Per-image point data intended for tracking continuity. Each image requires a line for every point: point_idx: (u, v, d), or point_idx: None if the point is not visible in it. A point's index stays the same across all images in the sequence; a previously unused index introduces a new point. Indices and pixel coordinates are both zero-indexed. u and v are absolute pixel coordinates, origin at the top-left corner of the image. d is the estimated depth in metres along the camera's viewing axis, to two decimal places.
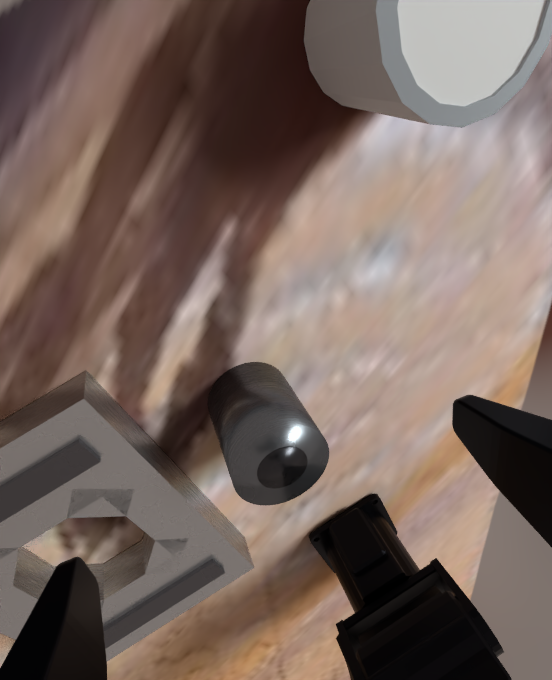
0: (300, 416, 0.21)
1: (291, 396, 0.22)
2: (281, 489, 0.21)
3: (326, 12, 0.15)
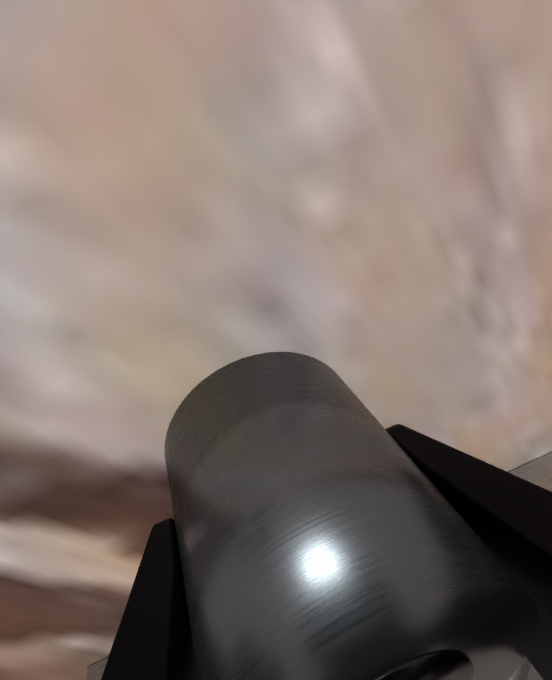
0: (247, 622, 0.05)
1: (227, 493, 0.07)
2: None
3: None
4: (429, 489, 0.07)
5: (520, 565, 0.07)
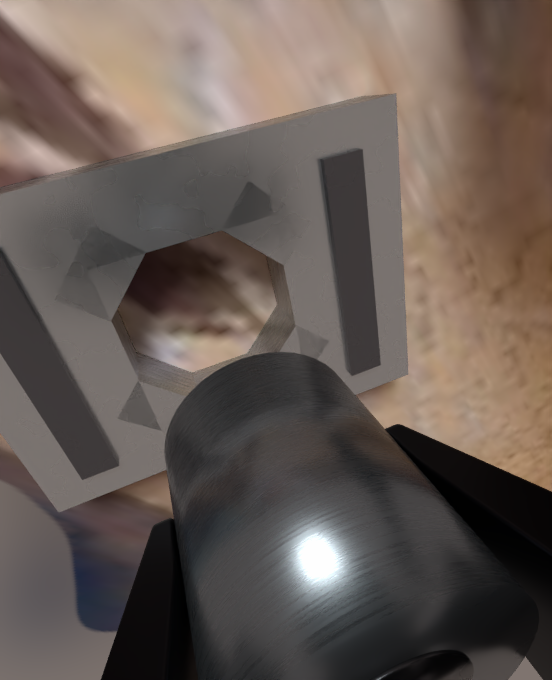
0: (246, 623, 0.05)
1: (227, 493, 0.07)
2: None
3: None
4: (429, 489, 0.07)
5: (520, 565, 0.07)
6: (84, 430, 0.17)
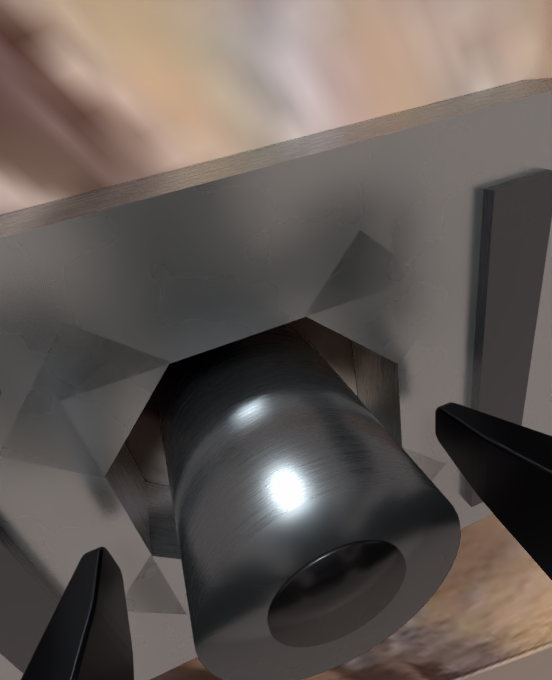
0: (219, 514, 0.07)
1: (208, 428, 0.08)
2: (406, 583, 0.08)
3: None
4: (375, 424, 0.08)
5: None
6: None
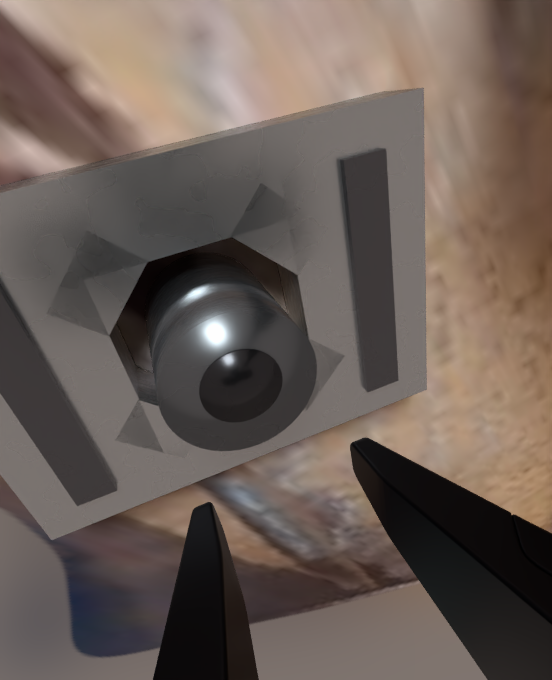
0: (171, 332, 0.12)
1: (171, 301, 0.14)
2: (285, 389, 0.14)
3: None
4: (270, 299, 0.14)
5: (475, 588, 0.07)
6: (79, 453, 0.16)
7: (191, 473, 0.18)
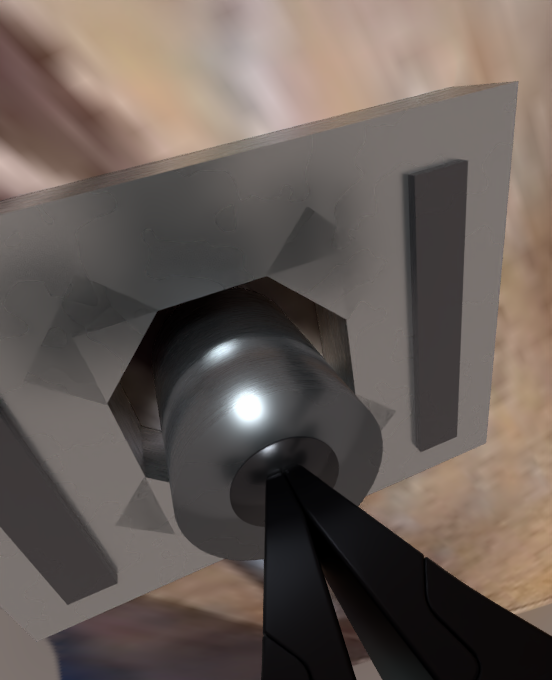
0: (192, 415, 0.09)
1: (188, 362, 0.11)
2: (341, 480, 0.10)
3: None
4: (319, 359, 0.11)
5: (383, 636, 0.06)
6: (69, 546, 0.12)
7: (208, 554, 0.15)
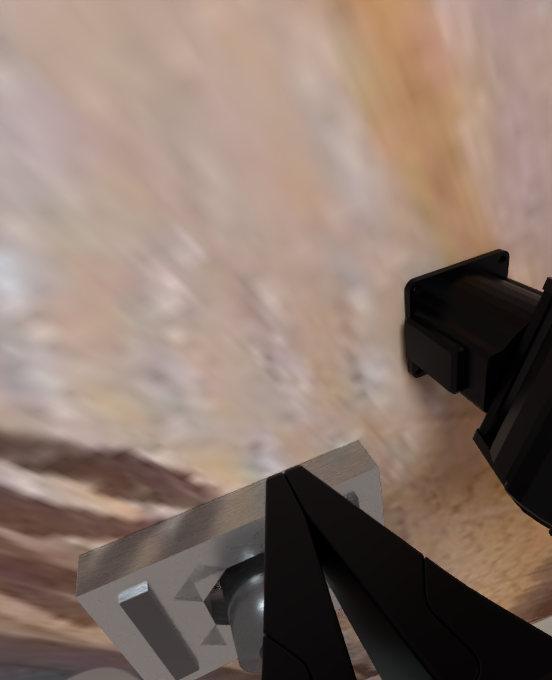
0: (244, 624, 0.24)
1: (239, 589, 0.25)
2: None
3: None
4: None
5: (383, 636, 0.06)
6: (181, 657, 0.27)
7: None
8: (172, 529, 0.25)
